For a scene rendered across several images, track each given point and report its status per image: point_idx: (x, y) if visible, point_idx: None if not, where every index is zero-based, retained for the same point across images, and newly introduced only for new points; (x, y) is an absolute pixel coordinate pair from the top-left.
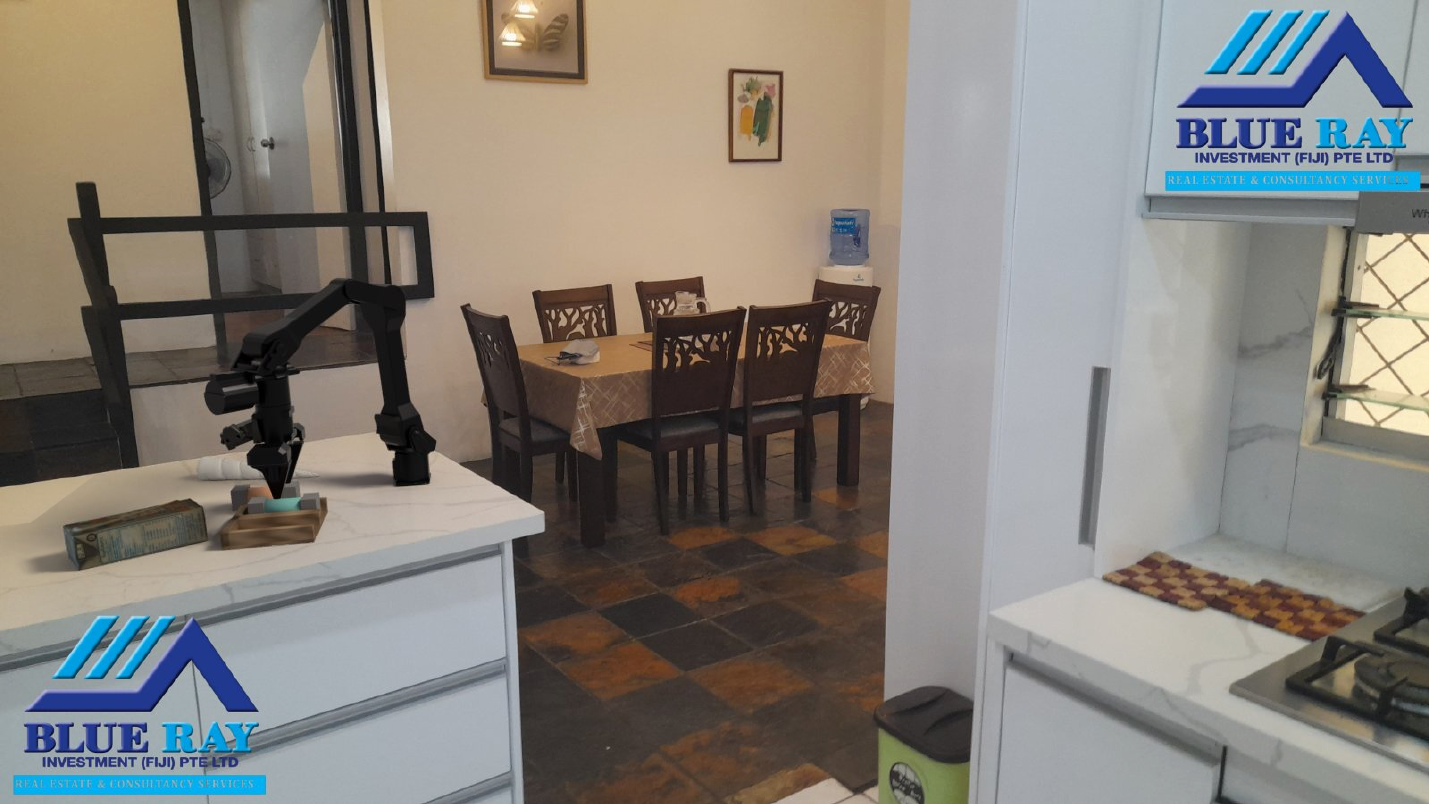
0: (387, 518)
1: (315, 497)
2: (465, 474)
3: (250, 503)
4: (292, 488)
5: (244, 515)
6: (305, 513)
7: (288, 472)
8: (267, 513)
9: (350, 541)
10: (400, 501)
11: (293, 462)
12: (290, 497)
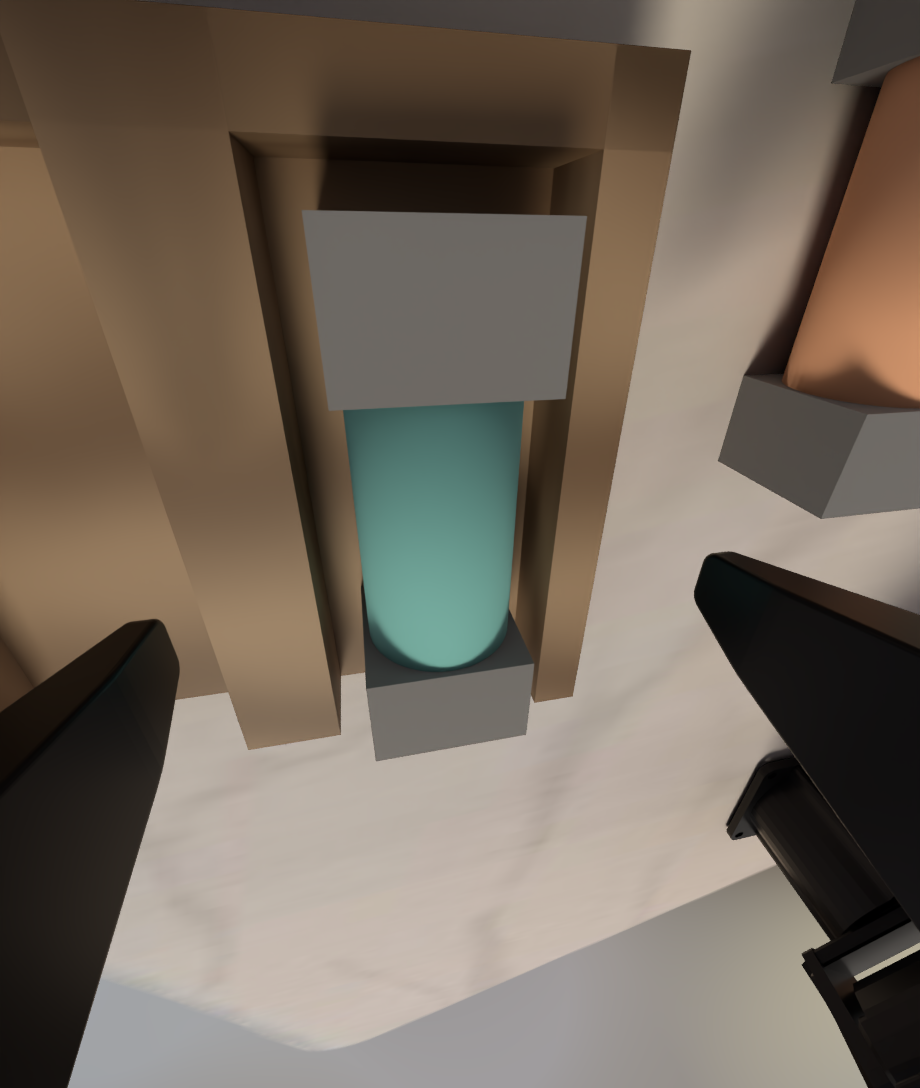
0: (378, 838)
1: (412, 750)
2: (761, 869)
3: (320, 254)
4: (819, 493)
5: (213, 185)
6: (248, 689)
7: (778, 673)
8: (268, 432)
9: None
10: (575, 815)
11: (867, 816)
12: (772, 449)
